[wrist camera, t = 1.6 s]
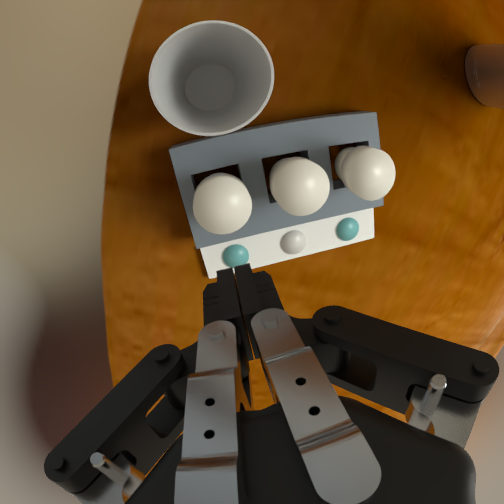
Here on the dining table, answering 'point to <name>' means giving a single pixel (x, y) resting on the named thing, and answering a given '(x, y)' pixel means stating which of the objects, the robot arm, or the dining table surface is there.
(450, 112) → the dining table surface
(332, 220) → the strip
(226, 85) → the cup
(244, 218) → the button
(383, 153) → the button
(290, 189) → the button
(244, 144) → the board
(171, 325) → the dining table surface
